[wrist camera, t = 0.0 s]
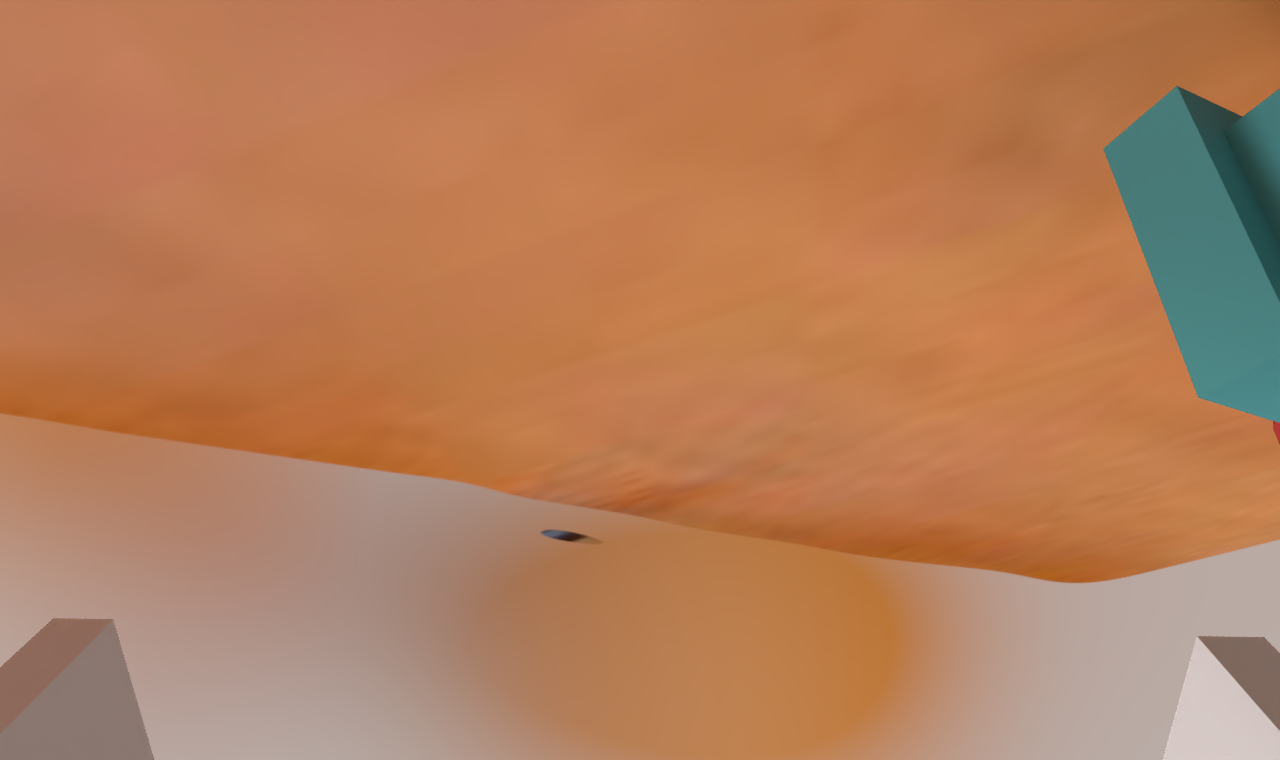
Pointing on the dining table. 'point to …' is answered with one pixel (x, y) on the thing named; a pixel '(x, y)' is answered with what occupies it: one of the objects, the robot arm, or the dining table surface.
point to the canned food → (1277, 430)
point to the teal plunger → (1211, 238)
